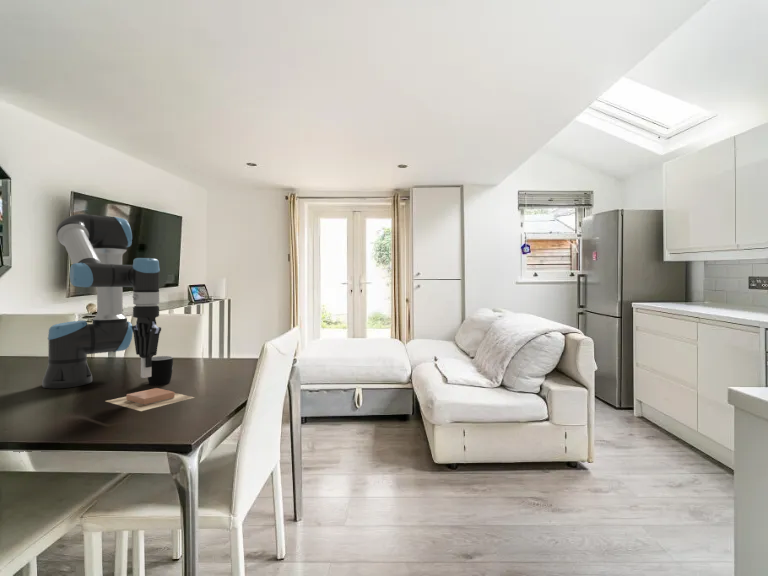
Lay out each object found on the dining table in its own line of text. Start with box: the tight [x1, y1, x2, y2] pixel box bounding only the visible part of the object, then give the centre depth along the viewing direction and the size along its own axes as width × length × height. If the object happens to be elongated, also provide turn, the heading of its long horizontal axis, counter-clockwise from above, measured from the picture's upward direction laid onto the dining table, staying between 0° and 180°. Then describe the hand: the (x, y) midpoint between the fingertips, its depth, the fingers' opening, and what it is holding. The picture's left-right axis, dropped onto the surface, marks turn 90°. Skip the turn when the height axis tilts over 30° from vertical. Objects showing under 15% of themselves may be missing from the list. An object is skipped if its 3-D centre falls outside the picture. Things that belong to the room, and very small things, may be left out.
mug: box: [147, 355, 174, 386], centre depth 162 cm, size 12×9×10 cm
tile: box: [125, 387, 175, 405], centre depth 139 cm, size 2×10×10 cm
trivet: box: [104, 392, 196, 412], centre depth 139 cm, size 20×18×1 cm
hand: (146, 376), depth 140 cm, fingers closed
